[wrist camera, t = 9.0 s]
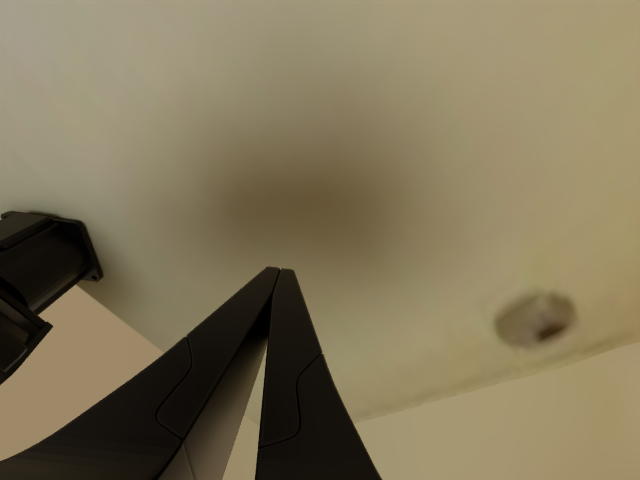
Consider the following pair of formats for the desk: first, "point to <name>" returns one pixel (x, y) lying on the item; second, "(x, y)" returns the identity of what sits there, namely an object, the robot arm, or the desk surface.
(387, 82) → the desk surface
